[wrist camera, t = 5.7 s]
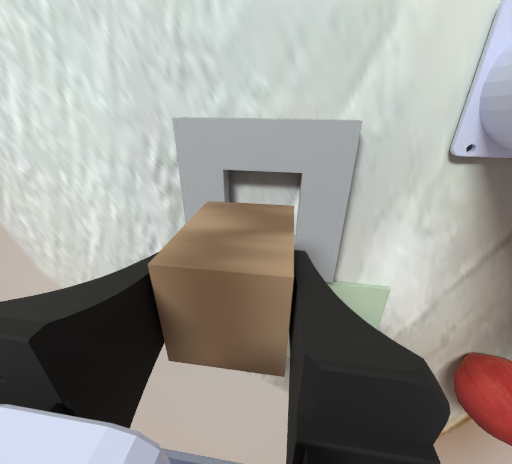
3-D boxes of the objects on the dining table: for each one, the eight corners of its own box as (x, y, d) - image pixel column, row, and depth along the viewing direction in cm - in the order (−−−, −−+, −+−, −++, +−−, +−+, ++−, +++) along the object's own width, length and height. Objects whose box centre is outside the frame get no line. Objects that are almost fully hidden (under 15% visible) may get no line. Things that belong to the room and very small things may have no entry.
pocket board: (356, 120, 16) (362, 120, 15) (330, 272, 21) (332, 282, 20) (181, 117, 18) (172, 117, 16) (197, 260, 23) (191, 269, 22)
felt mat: (388, 286, 21) (390, 289, 21) (364, 363, 26) (365, 367, 25) (272, 275, 22) (272, 278, 22) (268, 351, 27) (268, 354, 27)
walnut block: (294, 206, 12) (293, 277, 7) (288, 278, 14) (284, 376, 9) (207, 201, 13) (147, 264, 8) (213, 271, 15) (168, 360, 10)
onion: (519, 361, 23) (621, 475, 16) (455, 382, 25) (518, 490, 18) (489, 323, 21) (586, 429, 14) (424, 349, 24) (479, 451, 17)
